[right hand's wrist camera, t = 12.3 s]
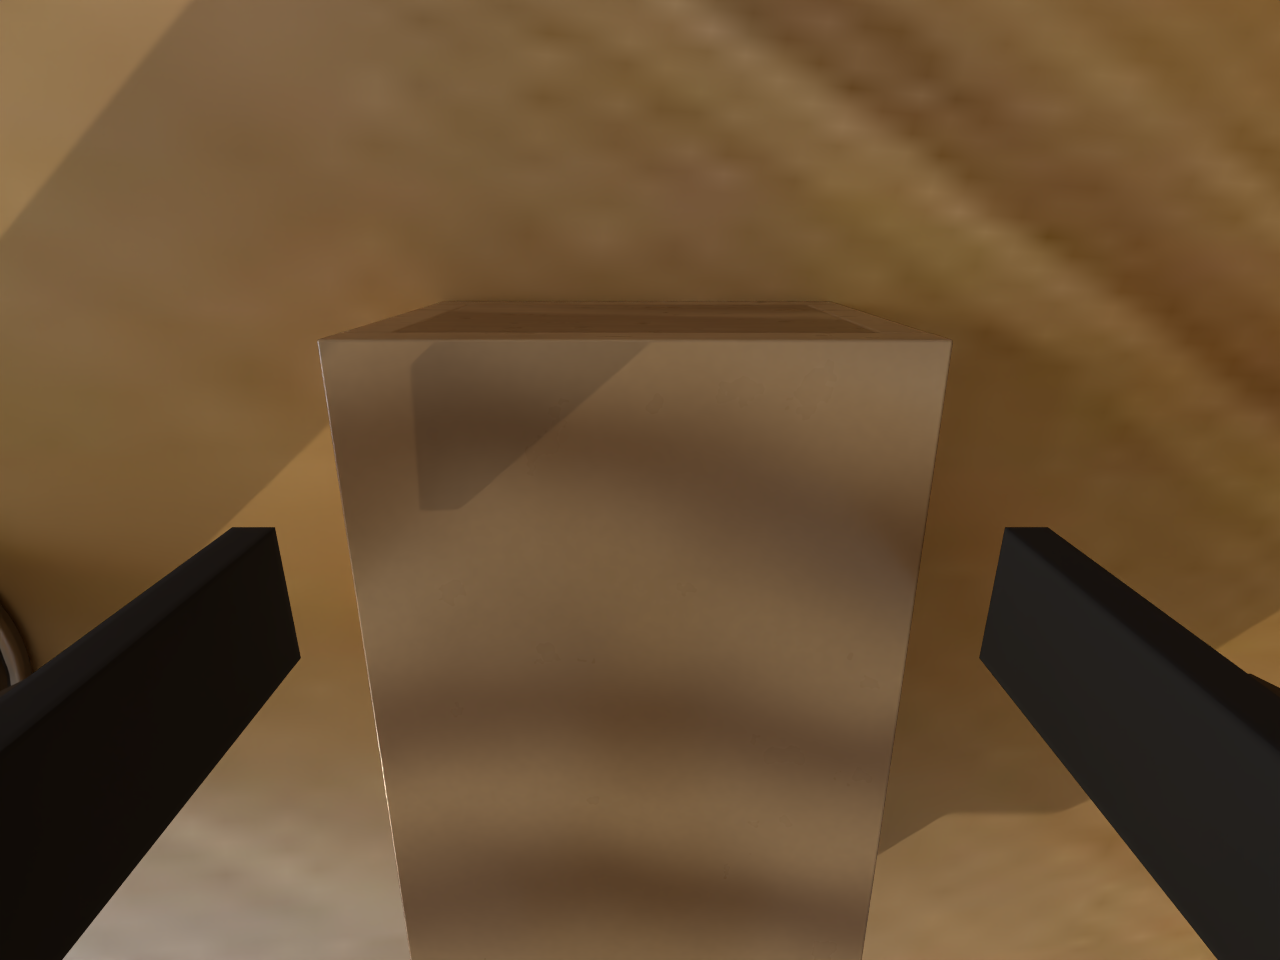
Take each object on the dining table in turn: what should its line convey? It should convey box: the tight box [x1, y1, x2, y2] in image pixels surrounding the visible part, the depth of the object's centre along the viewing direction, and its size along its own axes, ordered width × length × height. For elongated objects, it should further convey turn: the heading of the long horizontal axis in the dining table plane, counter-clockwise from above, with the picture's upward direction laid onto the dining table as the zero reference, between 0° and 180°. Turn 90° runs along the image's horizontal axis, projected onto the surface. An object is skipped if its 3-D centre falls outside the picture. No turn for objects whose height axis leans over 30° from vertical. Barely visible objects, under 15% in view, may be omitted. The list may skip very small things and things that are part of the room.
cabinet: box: [318, 302, 953, 960], centre depth 19 cm, size 17×11×8 cm
